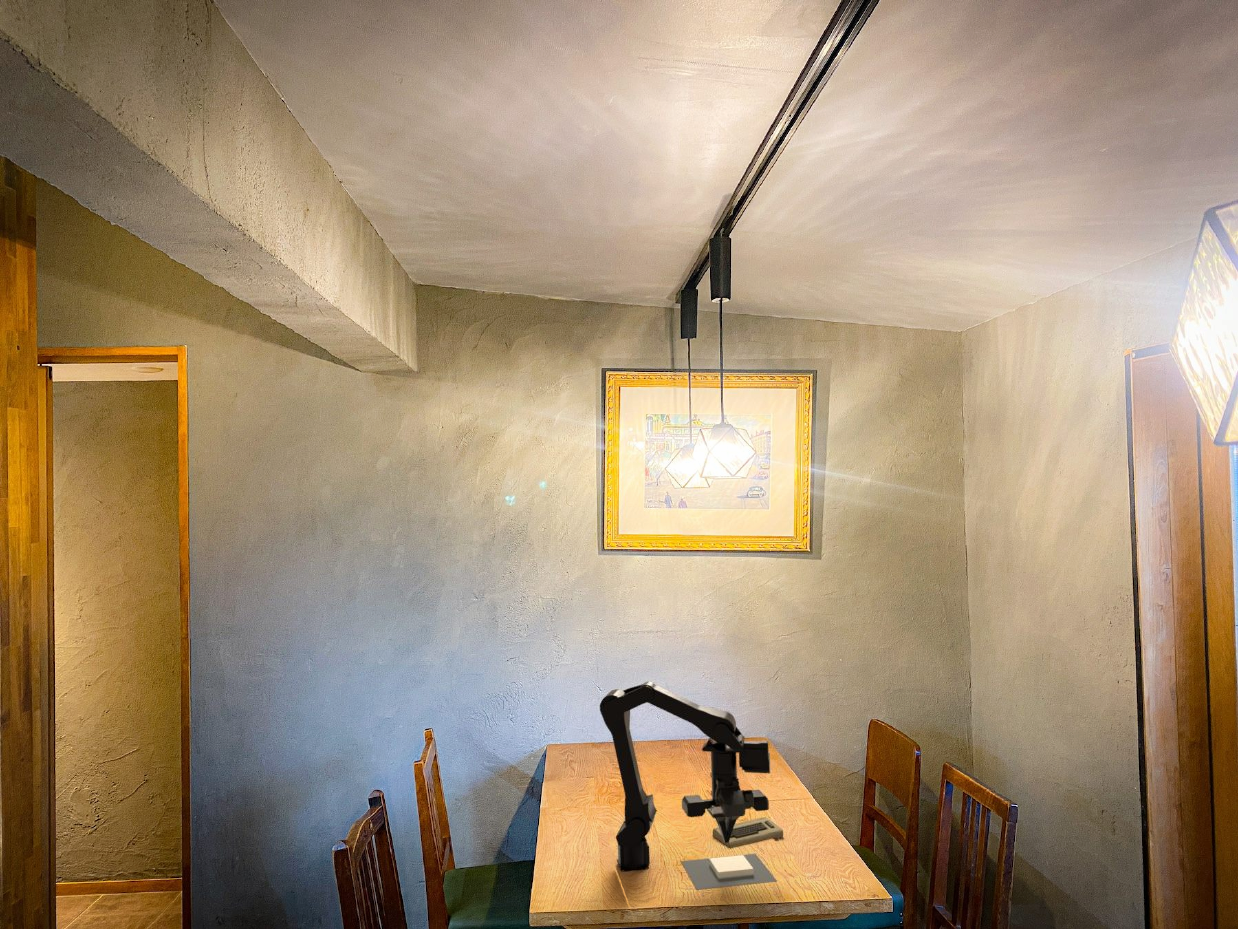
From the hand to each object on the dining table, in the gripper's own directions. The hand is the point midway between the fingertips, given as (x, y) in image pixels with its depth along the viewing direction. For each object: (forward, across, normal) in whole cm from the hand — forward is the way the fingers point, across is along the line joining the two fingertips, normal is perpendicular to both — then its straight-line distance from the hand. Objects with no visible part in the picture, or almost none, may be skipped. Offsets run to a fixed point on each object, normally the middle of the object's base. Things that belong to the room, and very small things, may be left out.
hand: (726, 842), depth 174 cm
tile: (+6, -3, 0) cm, 6 cm away
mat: (+7, 0, 0) cm, 7 cm away
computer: (+8, +11, +17) cm, 22 cm away
